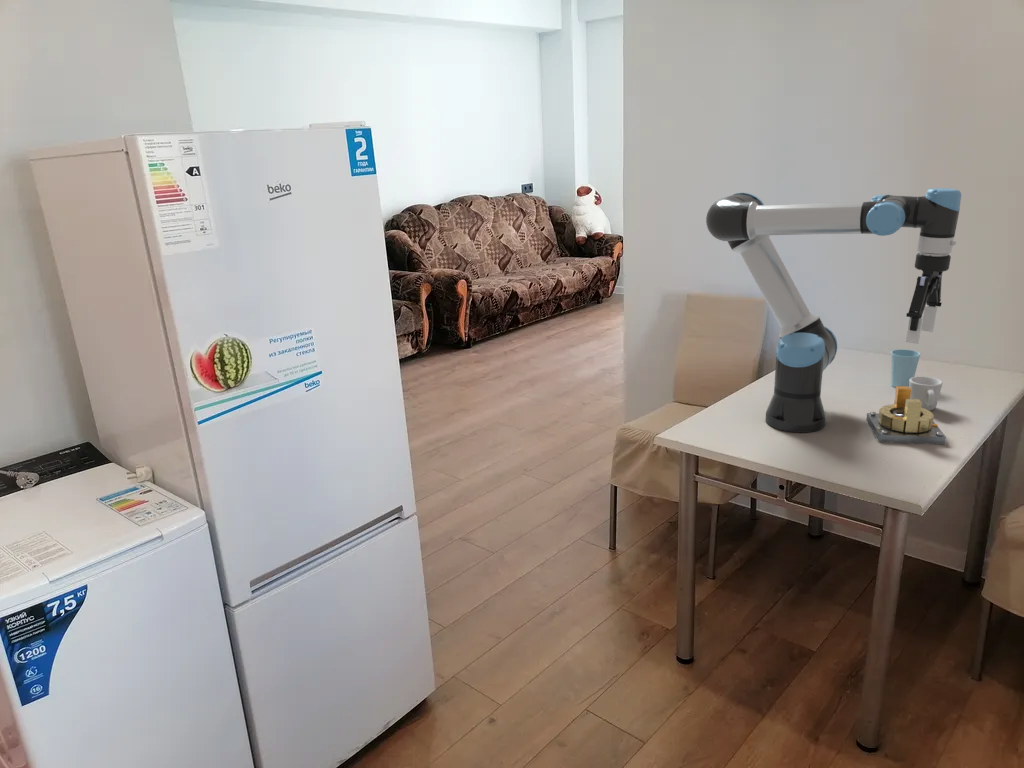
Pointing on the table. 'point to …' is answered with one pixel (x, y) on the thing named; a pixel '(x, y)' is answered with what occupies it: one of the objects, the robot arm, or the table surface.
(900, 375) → the cup
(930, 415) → the ring nut
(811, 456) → the table surface
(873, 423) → the flange
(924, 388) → the cup
